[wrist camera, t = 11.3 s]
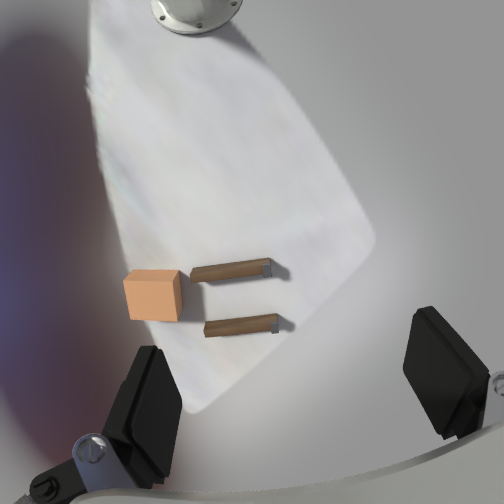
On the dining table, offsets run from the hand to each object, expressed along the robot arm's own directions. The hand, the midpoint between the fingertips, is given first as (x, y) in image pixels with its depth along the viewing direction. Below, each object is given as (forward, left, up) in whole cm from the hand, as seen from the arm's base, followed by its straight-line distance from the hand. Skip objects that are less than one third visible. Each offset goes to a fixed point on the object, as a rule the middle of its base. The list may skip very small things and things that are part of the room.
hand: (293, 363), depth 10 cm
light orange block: (+9, -16, -30) cm, 36 cm away
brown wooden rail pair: (+12, -5, -30) cm, 33 cm away
